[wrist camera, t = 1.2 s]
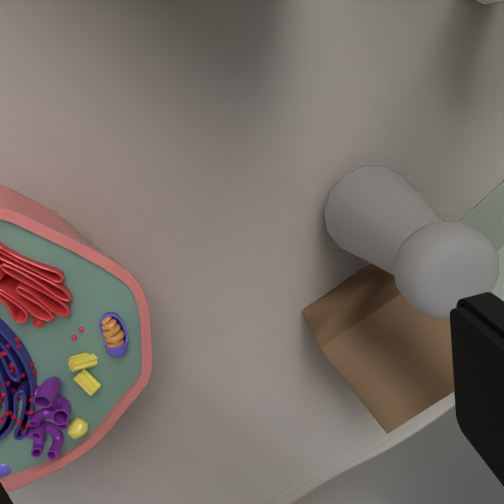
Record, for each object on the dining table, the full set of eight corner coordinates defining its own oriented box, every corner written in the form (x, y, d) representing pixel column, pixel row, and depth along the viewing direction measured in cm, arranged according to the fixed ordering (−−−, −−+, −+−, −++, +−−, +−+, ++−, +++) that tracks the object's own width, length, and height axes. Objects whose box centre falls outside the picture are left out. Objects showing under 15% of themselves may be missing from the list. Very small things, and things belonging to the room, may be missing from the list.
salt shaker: (382, 143, 30) (512, 190, 18) (409, 218, 32) (541, 305, 20) (301, 184, 30) (376, 257, 18) (333, 256, 33) (418, 363, 21)
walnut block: (406, 238, 33) (442, 266, 28) (459, 325, 36) (499, 362, 32) (301, 310, 34) (319, 348, 29) (362, 388, 37) (387, 433, 32)
